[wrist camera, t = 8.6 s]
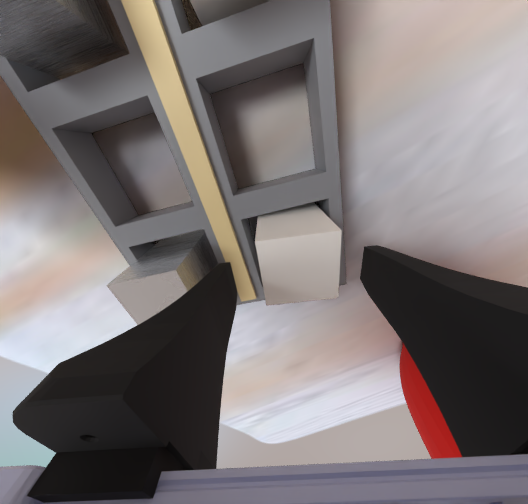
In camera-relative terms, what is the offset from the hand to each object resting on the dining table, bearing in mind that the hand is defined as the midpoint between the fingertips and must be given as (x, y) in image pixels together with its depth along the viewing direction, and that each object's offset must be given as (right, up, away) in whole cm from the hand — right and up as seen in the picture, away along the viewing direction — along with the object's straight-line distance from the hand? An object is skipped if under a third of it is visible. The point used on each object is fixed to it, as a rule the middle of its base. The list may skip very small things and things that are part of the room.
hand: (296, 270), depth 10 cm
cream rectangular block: (0, +3, +5) cm, 5 cm away
